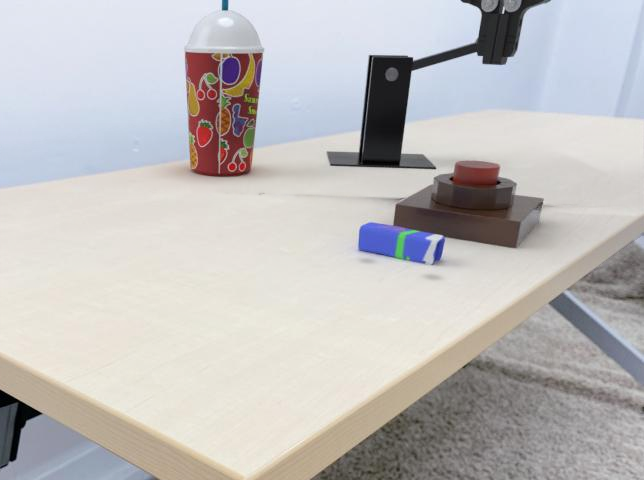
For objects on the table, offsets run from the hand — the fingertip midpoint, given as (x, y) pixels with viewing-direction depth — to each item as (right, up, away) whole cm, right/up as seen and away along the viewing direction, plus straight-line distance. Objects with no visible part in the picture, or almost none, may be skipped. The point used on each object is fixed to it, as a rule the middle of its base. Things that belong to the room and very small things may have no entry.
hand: (493, 64), depth 57 cm
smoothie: (-21, -4, +23) cm, 31 cm away
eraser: (-8, -16, -3) cm, 18 cm away
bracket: (-2, -1, +29) cm, 30 cm away
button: (0, -9, +4) cm, 10 cm away
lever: (+4, +9, +24) cm, 26 cm away
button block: (0, -12, +5) cm, 13 cm away
